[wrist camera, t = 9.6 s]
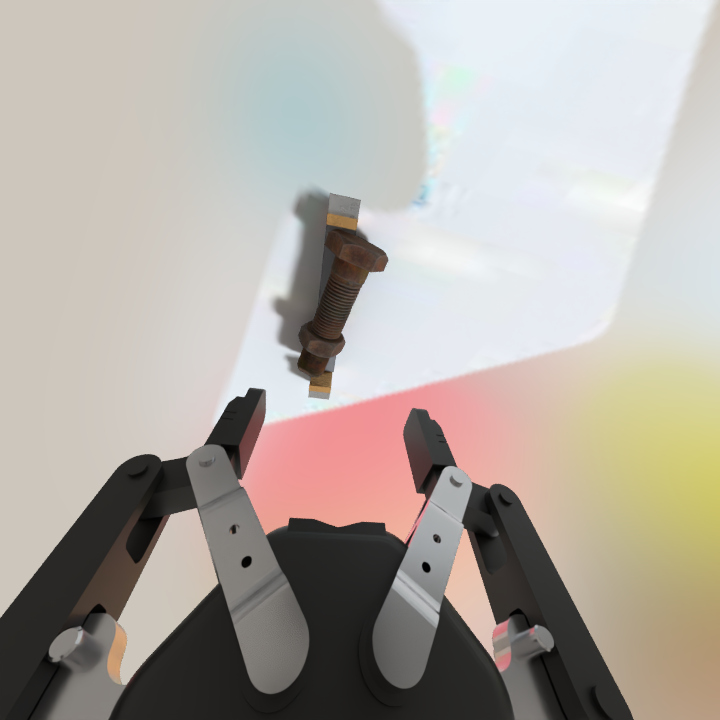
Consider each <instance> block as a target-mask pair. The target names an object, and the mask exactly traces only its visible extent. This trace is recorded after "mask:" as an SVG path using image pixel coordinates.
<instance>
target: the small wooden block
mask: <svg viewBox="0 0 720 720" xmlns="http://www.w3.org/2000/svg"><path fill="white" fill-rule="evenodd" d="M331 381H332V372H329V371H324V373H323V375H320V377H311V380H310V385H309V397H312V398H321V399H329V395H330V390H331Z"/></svg>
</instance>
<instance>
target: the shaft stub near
mask: <svg viewBox="0 0 720 720" xmlns="http://www.w3.org/2000/svg"><path fill="white" fill-rule="evenodd" d="M360 201H361V200H358V199H354V198H350V197H345V196H340V195H336V194H332V193H330V198H329V207H328V213H327V223H326V224H328V225H332V226H337V227H342V228H347V229H352V230H356V228H357V222H358V214H359V208H360Z"/></svg>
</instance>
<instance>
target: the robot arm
mask: <svg viewBox="0 0 720 720" xmlns="http://www.w3.org/2000/svg"><path fill="white" fill-rule="evenodd" d="M265 412H266V391H265V390H264V389H256V388H249V390H248V392H247V394H246V396H245V397H238V396H237V397H236V398H235V399H233V400H232V401H231V402H229V404H228V405H227V407H226V409H225V410H224V412H223V414H222V415H221V417H220V419H219V421H218V422H217V424H216V426H215V427H214V429H213V431H212V433H211V434H210V436H209V438H208V439H207V441H206V443H205V444H204V446H202V447H200V448H198V449H196V450H195V451H193V452H192V453H191V454H190V455H189V456H187V457H184V458H180V459H174V460H168V461H162V462H161V460H160V459H159V457H157V456H155V455H151V454H145V455H140V456H136V457H133V458H131V459H129V460H127V461H126V462H124V463H123V464H121V465H120V466H119V467H118V468H117V470H115V472H114V473H113V474H112V476H111V477H110V478H109V479H108V481H107V482H106V483H105V485H104V486H103V487H102V489H101V490H100V491H99V492H98V494H97V495H96V496H95V497H94V499H93V500H92V501H91V503H90V504H89V505H88V506H87V508H86V509H85V510H84V511H83V513H82V514H81V515H80V517H79V518H78V519H77V521H76V522H75V523H74V524H73V526H72V527H71V528H70V529H69V531H68V532H67V533H66V535H65V536H64V537H63V539H62V540H61V541H60V542H59V544H58V545H57V546H56V547H55V549H54V550H53V551H52V553H51V554H50V555H49V556H48V558H47V559H46V560H45V562H44V563H43V564H42V566H41V567H40V568H39V569H38V571H37V572H36V573H35V574H34V576H33V577H32V578H31V579H30V581H29V582H28V583H27V585H26V586H25V587H24V588H23V590H22V591H21V592H20V594H19V595H18V596H17V598H16V599H15V600H14V602H13V603H12V604H11V605H10V607H9V608H8V609H7V610H6V611H5V613H4V614H3V615H2V617H1V618H0V720H634V719H633V717H632V714H631V712H630V710H629V708H628V705H627V704H626V702H625V700H624V698H623V696H622V694H621V692H620V690H619V688H618V686H617V684H616V683H615V681H614V679H613V677H612V675H611V673H610V671H609V669H608V667H607V665H606V663H605V662H604V660H603V658H602V656H601V654H600V652H599V650H598V648H597V646H596V644H595V642H594V641H593V639H592V637H591V635H590V633H589V631H588V629H587V627H586V625H585V623H584V622H583V620H582V618H581V616H580V614H579V612H578V610H577V608H576V606H575V604H574V603H573V601H572V599H571V597H570V595H569V593H568V591H567V589H566V587H565V585H564V583H563V581H562V580H561V578H560V576H559V574H558V572H557V570H556V568H555V566H554V564H553V562H552V561H551V559H550V557H549V555H548V553H547V551H546V549H545V547H544V545H543V543H542V542H541V540H540V538H539V536H538V534H537V532H536V530H535V528H534V526H533V524H532V522H531V520H530V519H529V517H528V515H527V513H526V511H525V509H524V507H523V505H522V503H521V501H520V500H519V498H518V497H517V495H516V494H515V493H514V492H513V491H512V490H510V489H509V488H508V487H506V486H504V485H501V484H494V485H492V486H491V487H490V489H488V488H486V487H483V486H480V485H478V484H475V483H473V482H471V480H470V478H469V477H468V475H467V474H466V473H465V472H464V471H462V470H461V469H459V468H458V467H457V466H456V463H455V460H454V458H453V456H452V453H451V451H450V448H449V446H448V444H447V441H446V439H445V437H444V434H443V432H442V429H441V427H440V426H439V425H438V423H437V422H436V421H435V420H431V419H430V417H429V414H428V412H427V410H424V409H416V408H413V409H412V410H411V412H410V414H409V417H408V420H407V422H406V424H405V427H404V433H403V436H404V441H405V445H406V450H407V454H408V458H409V462H410V467H411V471H412V475H413V479H414V483H415V487H416V492H417V493H422V494H425V497H426V500H425V501H424V503H423V505H422V507H421V510H420V512H419V514H418V516H417V518H416V520H415V522H414V524H413V526H412V528H411V530H410V532H409V534H408V536H407V538H406V540H405V542H403V541H401V540H400V539H399V538H398V537H396V536H395V535H393V534H391V533H389V532H387V531H386V529H385V523H375V522H360V523H355V524H351V525H347V526H344V527H335V526H332V525H329V524H326V523H323V522H321V521H318V520H315V519H301V518H290V519H289V524H288V526H284V527H281V528H278V529H276V530H274V531H272V532H270V533H269V534H267V535H265V533H264V531H263V529H262V526H261V524H260V522H259V519H258V517H257V515H256V513H255V510H254V508H253V506H252V504H251V501H250V499H249V497H248V495H247V493H246V491H245V489H244V488H243V487H241V486H240V484H239V482H238V479H241V480H242V478H243V475H244V473H245V470H246V467H247V464H248V462H249V459H250V457H251V454H252V451H253V449H254V446H255V443H256V441H257V438H258V436H259V433H260V430H261V428H262V425H263V422H264V418H265ZM194 508H197V509H198V513H199V516H200V520H201V523H202V526H203V530H204V533H205V537H206V540H207V543H208V547H209V551H210V555H211V558H212V561H213V565H214V568H215V572H216V576H217V579H218V584H217V585H216V587H215V588H214V589H213V590H212V591H211V592H210V593H209V594H208V595H207V596H206V597H205V598H204V599H203V600H202V601H201V602H200V603H199V605H198V606H197V607H196V608H195V609H194V610H193V611H192V612H191V613H190V614H189V615H188V616H187V617H186V618H185V619H184V620H183V621H182V623H181V624H180V625H179V626H178V627H177V628H176V629H175V630H174V631H173V632H172V633H171V634H170V635H169V636H168V637H167V638H166V639H165V641H163V642H162V644H161V645H160V646H159V647H158V648H157V649H156V650H155V651H154V652H153V653H152V654H151V655H150V656H149V657H148V658H147V659H146V661H145V662H144V663H143V664H142V665H141V666H140V668H139V669H138V670H137V671H136V673H135V674H134V675H133V677H132V678H131V679H130V681H129V682H128V684H127V685H122V683H121V680H120V666H121V661H122V658H123V655H124V652H125V649H126V644H127V636H126V632H125V630H124V629H123V628H122V627H121V626H120V625H119V624H118V623H117V621H118V619H119V617H120V615H121V613H122V611H123V609H124V607H125V605H126V603H127V601H128V599H129V597H130V595H131V593H132V591H133V589H134V587H135V584H136V583H137V581H138V579H139V577H140V574H141V573H142V571H143V569H144V566H145V565H146V563H147V561H148V559H149V557H150V555H151V553H152V551H153V549H154V547H155V545H156V543H157V541H158V539H159V537H160V535H161V533H162V531H163V529H164V527H165V525H166V522H167V521H168V519H169V517H170V515H171V514H174V513H178V512H182V511H186V510H190V509H194ZM463 528H465V529H467V532H468V535H469V538H470V542H471V545H472V548H473V551H474V554H475V558H476V561H477V564H478V567H479V570H480V574H481V577H482V580H483V583H484V586H485V589H486V593H487V596H488V599H489V602H490V605H491V609H492V612H493V615H494V618H495V621H496V624H497V626H496V627H495V629H494V631H493V637H492V639H493V647H494V657H495V663H494V661H493V659H492V658H491V656H490V655H489V653H488V652H487V651H486V649H485V648H484V647H483V645H482V644H481V643H480V641H479V640H478V639H477V638H476V636H475V635H474V634H473V632H472V631H471V630H470V628H469V627H468V626H467V624H466V623H465V622H464V620H463V619H462V618H461V616H460V615H459V614H458V612H457V611H456V610H455V608H454V607H453V606H452V604H451V603H450V602H449V600H448V599H447V598H446V596H445V595H444V592H445V589H446V586H447V582H448V579H449V576H450V572H451V568H452V565H453V562H454V559H455V555H456V552H457V548H458V545H459V542H460V538H461V535H462V531H463Z"/></svg>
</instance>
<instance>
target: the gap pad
mask: <svg viewBox="0 0 720 720" xmlns="http://www.w3.org/2000/svg"><path fill="white" fill-rule="evenodd" d="M335 229H340V230H342V231H345V232H348V233H350V234H353V235H356V230H352V229H347V228H342V227H337V226H332V225H328V224H327V227H326V236H325V241H326V238H327V235H328V232H330V231H332V230H335ZM334 258H335V254H334V253H333V252H332V251H330V250H329V249H328V248H327V247H326V246H324V255H323V265H322V274H321V284H320V293H319V303H320V300H321V297H322V294H323V293H324V290H325V287H326V284H327V281H328V280H329V279H328V278H329V277H330V276H329V275H330V273H331V267H332V264H333V261H334ZM319 303H318V305H319ZM335 359H336V356H334V357H331V358H330V359H329V361H328V363H327V366H326V368H325V371H329V372H334V366H335Z"/></svg>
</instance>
